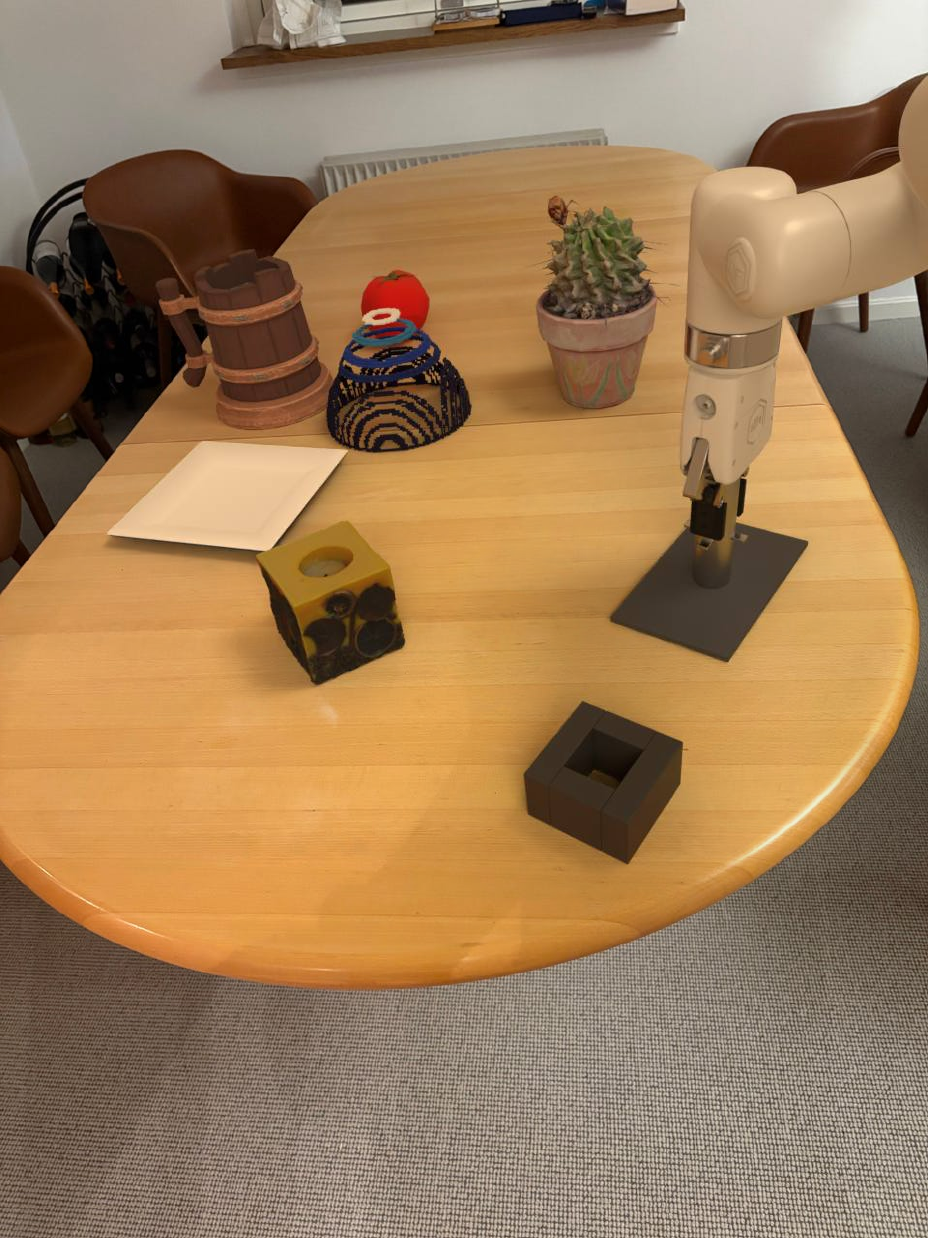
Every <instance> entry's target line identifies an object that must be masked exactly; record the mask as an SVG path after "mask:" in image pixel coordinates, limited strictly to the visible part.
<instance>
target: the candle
mask: <svg viewBox="0 0 928 1238" xmlns="http://www.w3.org/2000/svg"><path fill="white" fill-rule="evenodd" d="M255 559H256V562H257V565H258V567H259V569H260V573H261V576H262V578H263V580H264V582H265V585H266V587H267V589H268V596H269V605H270V610H271V613H272V616H273V619H274V621H275V625H276V630H277V632H278V633H277V634H279V635H280V636H281V638H282V640H283V641H284V643H285V645H286V647H287V648H288V649H289V650H290V652H291V655H292V656H293V657H294V658H295V659H296V662H297V663H299V664H300V667H301V668H303V670H304V671H305V672H306V674H308V676H309V678H310V682H312V683H313V684H314V685H317V686H318V685H322V684H324V682H327V681H330V680H332V679H336V678H337V677H338V676H340V675H343V674H345V673H346V672H351V671H354V670H356V669H358V668H359V667H361V666H363V665H366V664H368V663H369V662H372V661H374V660H376V659H380V658H381V657H383V656H384V655H386V654H389V653H391V652H394V651H396V650H399V649H401V648H403V647H404V646H405V644H406V638H405V634H404V629H403V624H402V621H401V619H400V616H399V608H398V605H397V602H396V601H397V596H396V591H395V584H394V578H393V573H392V569H391V565H390V564H389V563H388V562H387V560H385V559H384V557H382V556H381V555H380V554H379V553H378V552H376V550H374V549H373V548H372V547H371V546H370V545H369V543H368V542H367V541H366V540H365V539H364V537H362V535H361V534H360V533H359V532H358V530H357V529H356V528H355V527H354V525H353V524H352V523H351V522H350V521H349V520H341V521H339V522H336V523H335V524H333V525H330V526H328V527H326V528H323V529H320V530H317V531H314V532H311V533H310V534H307V535H304V536H302V537H300V538H297V539H294V540H292V541H291V540H290V541H289V542H286V543H283V544H280V545H278V546H274V547H273V548H272V549H270V550H267V551H264V552H258V553H257V554H256V555H255Z"/></svg>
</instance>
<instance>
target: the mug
mask: <svg viewBox="0 0 928 1238" xmlns="http://www.w3.org/2000/svg"><path fill="white" fill-rule="evenodd" d="M226 257H227V261H225V262H223V263H219V264H216V265H215V266H213V267H212V266H209V265H204V266H202V267H200V268H199V269H198V270H197V271H196V272H195V274H194V276H193V277H194V283H195V288H196V291H197V296H195V297H185V295H184V294H181V293H180V290H179V285H178V280H177V279H176V278H175V277H167V278H162V279H160V280H158V281H156V283H155V289H156V291H157V293H158V295H159V297H160V299H158V304H159V306H160V309H161V311H162V313H163V315H167V317H168V320H169V322H170V325H171V326H172V328H173V329H174V331H175V333H176V335H177V337H178V339H180V342H181V343H182V345H183V347H184V348H185V350H186V354H184V355H185V357H184V358H185V362H186V364H187V368H185V370H183V371H182V379H183V381H184V382H185V383H186V385H188V386H190V387H191V388H193V389H194V388H199V387H200V386H201V384H202V383H203V381H204V379H205V377H206V373H207V368H208V365H210V364H211V367H212V370H213V373H214V375H215V377H217V378H219V382H220V384H218V385H217V388H216V391H215V393H214V394H215V398H216V402H217V403H216V405H215V410H216V411H215V412H216V415H217V417H218V420H220V421H221V422H222V423H224V424H225V425H226V426H230V427H233V428H236V429H242V430H265V429H273V428H281V427H284V426H287V425H291V424H295V423H298V422H301V421H304V420H306V419H308V418H310V417H312V416H315V415H317V414H318V413H320V412H321V411H323V410H325V409H327V406H328V405H327V403H328V395H329V393H328V392H329V389H330V387H331V386H332V384H333V382H334V379H335V378H334V377H333V375H332V374H331V371H330V369H329V367H328V366H327V364H325V363H324V362H321V361H319V357H318V355H319V350H320V347H319V344H320V341H319V339H318V338H317V337H316V336H315V335H314V334H313V333H311V330H310V327H309V323H308V320H307V317H306V313H305V310H304V306H303V302H302V301H301V300H302V296H303V290H304V287H303V285H302V283H300V282H299V281H298V280H297V279H296V278H295V277H294V274H293V270H292V267H291V265H290V263H289V262H288V261H287V260H284V259H282V258H278V257H274V256H272V255H267V256H264V257H262V258H258V255H257V252H256V249H255V248H252V249H244V250H239V251H236V252H233V253H231V254H228V255H226ZM189 309H197V311H198V316H199V317H200V319H201V320H203V321H204V323H205V327H206V331H207V334H208V339H209V343H210V347H211V352H208V351H207V350H204V349H203V345H202V342H201V340H200V339H199V336H198V334H197V333H196V330H195V328H194V326H193V323H192V322H191V320H190V317H189V316H188V314H187V310H189ZM334 393H335V392H334Z"/></svg>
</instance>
